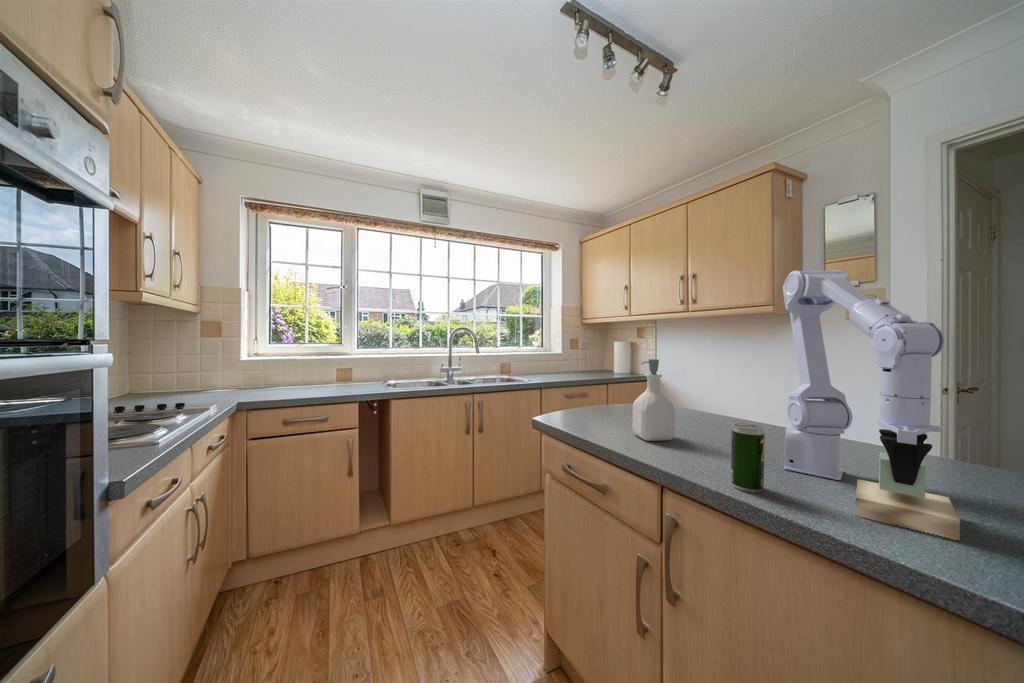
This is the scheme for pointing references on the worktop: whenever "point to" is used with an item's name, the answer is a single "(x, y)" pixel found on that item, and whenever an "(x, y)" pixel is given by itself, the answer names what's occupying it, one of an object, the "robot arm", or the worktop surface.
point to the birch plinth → (907, 510)
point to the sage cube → (890, 485)
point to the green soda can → (747, 457)
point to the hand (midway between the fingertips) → (902, 478)
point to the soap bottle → (653, 410)
